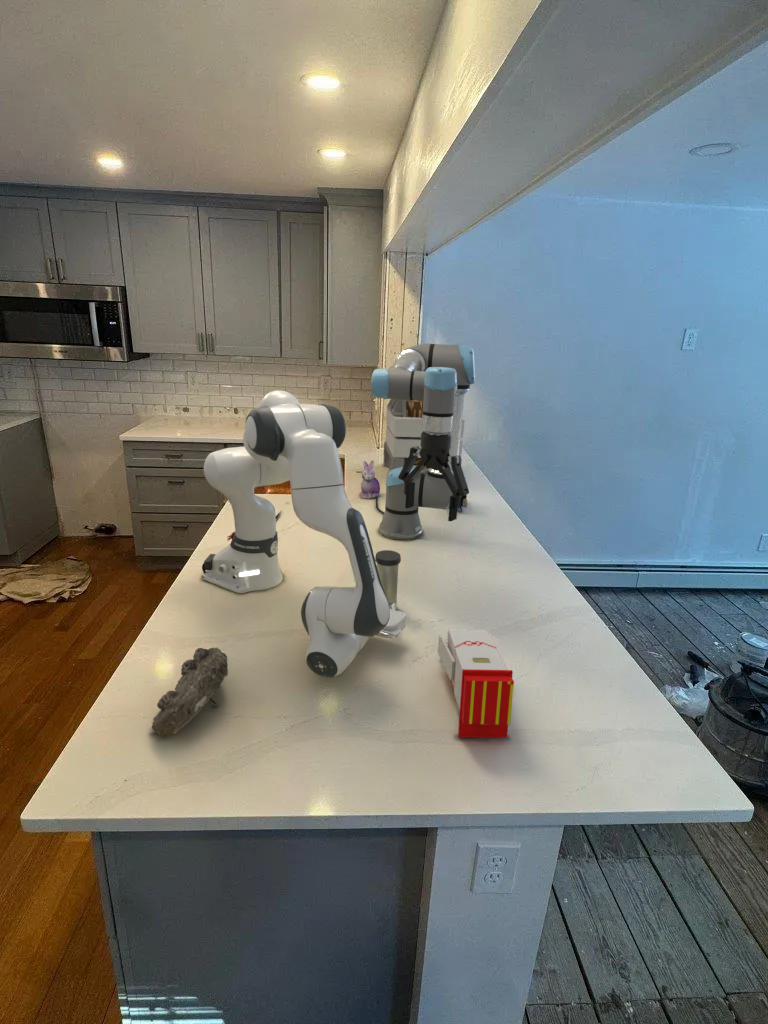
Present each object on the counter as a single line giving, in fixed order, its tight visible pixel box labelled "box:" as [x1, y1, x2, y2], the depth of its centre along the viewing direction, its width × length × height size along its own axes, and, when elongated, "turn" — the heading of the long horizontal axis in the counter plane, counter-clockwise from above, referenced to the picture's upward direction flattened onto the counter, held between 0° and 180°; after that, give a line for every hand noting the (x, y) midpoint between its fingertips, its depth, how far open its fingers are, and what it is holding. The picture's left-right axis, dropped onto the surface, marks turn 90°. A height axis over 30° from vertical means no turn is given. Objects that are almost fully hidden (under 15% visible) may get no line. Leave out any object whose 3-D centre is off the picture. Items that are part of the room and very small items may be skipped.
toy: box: [437, 628, 515, 738], centre depth 117 cm, size 12×13×30 cm
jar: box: [376, 562, 400, 611], centre depth 147 cm, size 6×6×15 cm
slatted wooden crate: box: [383, 399, 465, 472], centre depth 268 cm, size 34×33×41 cm
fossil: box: [152, 646, 229, 736], centre depth 110 cm, size 22×10×15 cm
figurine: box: [360, 460, 381, 499], centre depth 236 cm, size 9×10×15 cm
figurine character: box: [457, 494, 468, 512], centre depth 228 cm, size 7×8×15 cm
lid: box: [374, 549, 402, 566], centre depth 145 cm, size 6×6×2 cm
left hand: (375, 601), depth 141 cm, fingers open, 8 cm apart
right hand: (430, 513), depth 147 cm, fingers open, 13 cm apart
